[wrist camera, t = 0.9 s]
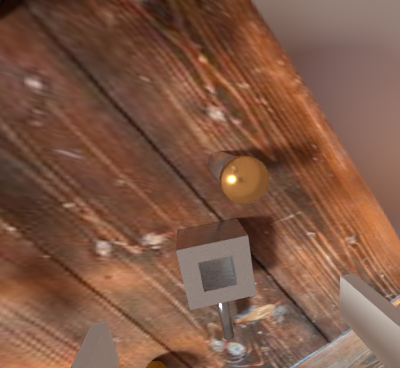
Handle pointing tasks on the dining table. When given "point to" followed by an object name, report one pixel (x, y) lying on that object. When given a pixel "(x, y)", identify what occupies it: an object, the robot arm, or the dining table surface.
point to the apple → (156, 364)
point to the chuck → (216, 267)
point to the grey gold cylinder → (239, 176)
